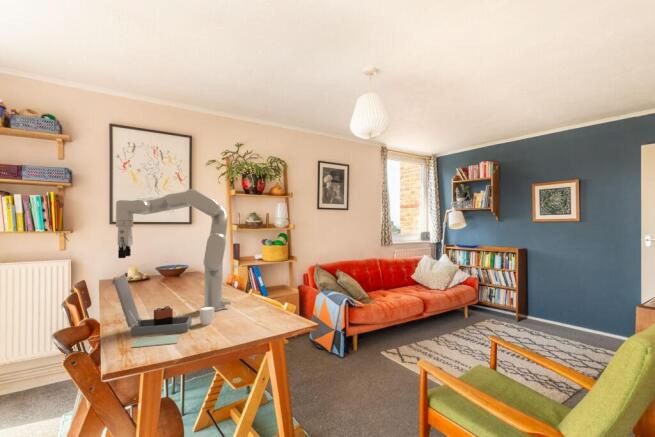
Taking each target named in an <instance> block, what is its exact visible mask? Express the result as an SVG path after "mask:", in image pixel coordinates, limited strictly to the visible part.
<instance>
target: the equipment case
mask: <svg viewBox="0 0 655 437" xmlns="http://www.w3.org/2000/svg"><path fill="white" fill-rule="evenodd" d="M128 312H129V313H130V315H131V317H132V319H133V320H134V322H135V324H132V325H131V326H132V327H130V332H131V333H130V337H144V336H152V335H153V336H154V335H155V336H156V335H165V334H176V333H187V332H188V331H189V329H190V328H191V325H192V316H191V315H190V316H189V315H187V316H175V317H173V324H171V325H158V326H154V318H150V319H149V318H148V319H142V317H139V319H138V321H137V322H136V320H135V318H134V316H133V315H132V313H131V311H130V310H129V311H128Z"/></svg>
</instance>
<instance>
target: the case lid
mask: <svg viewBox="0 0 655 437" xmlns="http://www.w3.org/2000/svg"><path fill="white" fill-rule="evenodd" d="M113 284H114V287H115V290H116V294H117V297H118V299H119V303H120V306H121V309H122V312H123V315H124V317H125V318H124V319H125V321H126V324H127V327H128V329H129V328H130V329H131V327H132V326H131V325H132V324H135V322H134V320H133V319H132V317H131V315H130V313H129V312H128V311H129V310H130V311H131V313H132V315H133V316H134V318H135V320H136V322H138V319H139V318H140V315H139V312H138V309H137V306H136V303H135V300H134V296H133V294H132V291H131V287H130V284H129V281H128V278H127V276H126V275H122V276H121V277H118V278H116V279H114V280H113Z"/></svg>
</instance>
